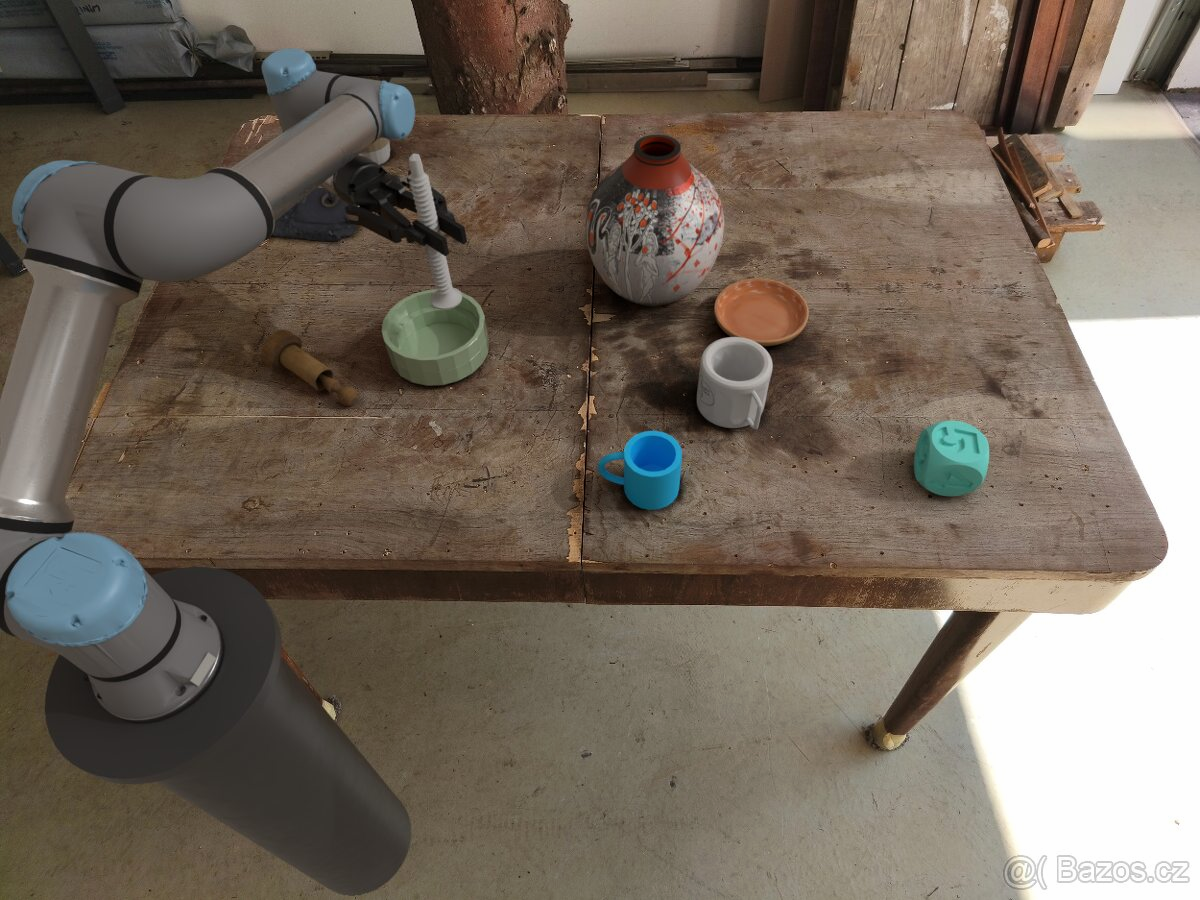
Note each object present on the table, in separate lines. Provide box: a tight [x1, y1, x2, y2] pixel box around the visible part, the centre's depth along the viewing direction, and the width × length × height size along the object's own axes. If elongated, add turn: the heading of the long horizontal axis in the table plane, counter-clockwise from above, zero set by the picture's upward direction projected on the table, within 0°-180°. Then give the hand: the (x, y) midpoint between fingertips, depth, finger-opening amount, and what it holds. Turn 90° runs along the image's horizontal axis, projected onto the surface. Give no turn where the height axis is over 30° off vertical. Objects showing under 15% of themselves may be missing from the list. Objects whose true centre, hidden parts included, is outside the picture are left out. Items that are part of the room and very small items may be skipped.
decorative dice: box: [913, 419, 990, 497], centre depth 116 cm, size 8×8×8 cm
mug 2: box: [696, 336, 774, 430], centre depth 124 cm, size 14×11×10 cm
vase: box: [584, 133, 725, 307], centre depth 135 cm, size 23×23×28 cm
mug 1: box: [597, 430, 683, 511], centre depth 116 cm, size 12×8×8 cm
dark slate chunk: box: [270, 186, 357, 242], centre depth 160 cm, size 15×22×5 cm
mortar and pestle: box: [260, 329, 360, 407], centre depth 132 cm, size 7×6×18 cm
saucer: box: [713, 277, 810, 347], centre depth 139 cm, size 16×16×3 cm
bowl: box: [381, 288, 490, 386], centre depth 135 cm, size 17×17×7 cm
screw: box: [408, 153, 462, 310], centre depth 118 cm, size 5×26×5 cm
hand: (454, 241), depth 114 cm, fingers closed on screw, 3 cm apart
